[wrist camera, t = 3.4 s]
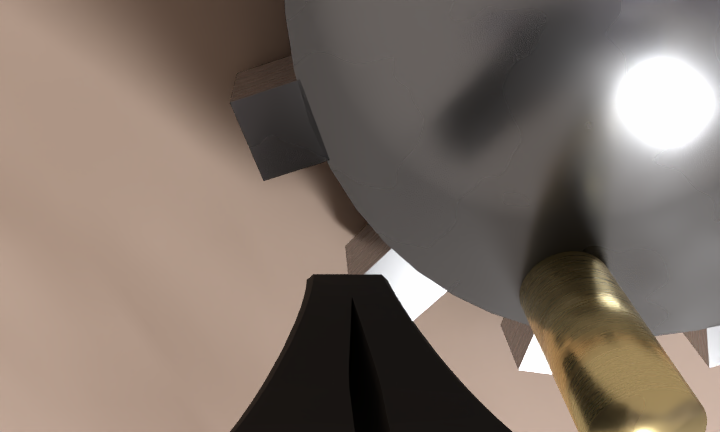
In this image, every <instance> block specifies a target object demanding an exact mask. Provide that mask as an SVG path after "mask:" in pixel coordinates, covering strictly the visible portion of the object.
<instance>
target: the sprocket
mask: <svg viewBox="0 0 720 432" xmlns="http://www.w3.org/2000/svg"><path fill="white" fill-rule="evenodd" d="M285 16H286V22H287V28H288V35H289V41H290V47H291V54H292V55H291V56H288V57H285V58H282V59H279V60H276V61H273V62H270V63H267V64H264V65H261V66H258V67H255V68H252V69H249V70H246V71H243V72H240V73H237V76H236V80H235V84H234V88H233V92H232V96H231V100H230V104H231V106H232V109H233V111H234V113H235V116H236V118H237V120H238V123H239V125H240V127H241V130H242V132H243V134H244V137H245V139H246V141H247V144H248V146H249V148H250V150H251V153H252V155H253V157H254V160H255V162H256V164H257V167H258V169H259V171H260V174H261V176H262V178H263V181H265V180H268V179H271V178H275V177H278V176H281V175H284V174H287V173H290V172H294V171H297V170H300V169H303V168H306V167H309V166H313V165H316V164H319V163H322V162H325V161H327V162H328V164H329V166H330V169H331V170H332V172H333V173H334V175H335V177H336V178H337V180H338V181H339V183H340V184H341V186H342V188H343V189H344V191H345V192H346V194H347V195H348V197H349V199H350V200H351V202H352V203H353V205H354V206H355V208H356V209H357V211H358V212H359V213H360V214H361V215H362V216H363V218H364V219H365V220H366V221H367V222H368V224H367V225H366V226H365V227H364V228H363V229H362V230H361V231H360V232H359V233H358V234H357V235H356V236H355V237H354V238H353V239H352V240H351V241H350V242H349V243H348V244H347V245H346V246H345V248H346V258H347V267H348V274H382V275H383V276H384V277H385V278H386V279H387V280H388V282H389V284H390V286H391V287H392V289H393V291H394V293H395V294H396V296H397V298H398V299H399V301H400V302H401V304H402V306H403V307H404V309H405V310H406V312H407V313H408V315H409V316H410V318H411V319H412V321H413V320H414V319H416V318H417V317H418V316H419V315H420V314H421V313H422V312H424V311H425V310H426V309H427V308H428V307H429V306H430V305H432V304H433V303H434V302H435V301H436V300H437V299H438V298H440V297H441V296H442V295H443V294H444V293H445V292H446V291H448V292H450V293H451V294H453V295H454V296H457V297H459V298H461V299H463V300H465V301H467V302H469V303H471V304H473V305H475V306H477V307H479V308H482V309H484V310H486V311H488V312H490V313H493V314H496V315H499V316H502V317H504V318H503V320H502V323H501V327H502V330H503V332H504V335H505V337H506V340H507V342H508V345H509V347H510V350H511V352H512V355H513V357H514V360H515V362H516V365H517V367H518V370H522V371H530V372H538V373H546V374H552V375H553V377H554V379H555V381H556V384H557V386H558V388H559V390H560V392H561V394H562V397H563V399H564V401H565V403H566V405H567V408H568V410H569V412H570V414H571V416H572V419H573V421H574V423H575V425H576V427H577V430H578V432H705V430H706V425H707V417H706V412H705V410H704V408H703V406H702V405H701V403H700V402H699V400H698V399H697V397H696V396H695V394H694V393H693V392H692V390H691V389H690V387H689V386H688V384H687V383H686V381H685V380H684V379H683V377H682V376H681V374H680V373H679V371H678V370H677V368H676V367H675V365H674V364H673V363H672V361H671V360H670V358H669V357H668V355H667V354H666V352H665V351H664V350H663V348H662V347H661V345H660V344H659V342H658V341H657V339H656V338H655V336H659V335H666V334H674V333H682V332H683V333H684V335H685V336H686V337H687V339H688V340H689V341H690V343H691V344H692V345H693V347H694V348H695V349H696V351H697V352H698V353H699V355H700V356H701V357H702V359H703V360H704V361H705V363H706V364H707V365H708V367H709V368H711V367H715V366H718V365H720V0H285Z"/></svg>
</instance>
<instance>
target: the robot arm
mask: <svg viewBox="0 0 720 432" xmlns="http://www.w3.org/2000/svg"><path fill="white" fill-rule="evenodd" d="M230 432H512V431H511V430H510V429H509V428H508V427H506V426H505V425H504V424H503V423H502V422H501V421H500V420H499V419H497V418H496V417H495V416H494V415H493V414H492V413H491V412H490V411H489V410H488V409H487V408H486V407H485V406H484V405H483V404H482V403H481V402H480V401H479V400H478V399H477V398H476V397H475V396H474V395H473V394H472V393H471V392H470V391H469V390H468V389H467V388H466V386H465V385H464V384H463V383H462V382H461V381H460V380H459V379H458V378H457V376H456V375H455V374H454V373H453V372H452V371H451V370H450V368H449V367H448V366H447V365H446V364H445V363H444V361H443V360H442V359H441V358H440V356H439V355H438V354H437V353H436V351H435V350H434V349H433V348H432V346H431V345H430V344H429V342H428V341H427V340H426V338H425V337H424V336H423V334H422V333H421V332H420V330H419V329H418V328H417V326H416V325H415V323H414V322H413V321H412V319H411V318H410V316H409V315H408V313H407V312H406V310H405V309H404V307H403V306H402V304H401V302H400V301H399V299H398V298H397V296H396V294H395V293H394V291H393V289H392V287H391V286H390V284H389V282H388V280H387V279H386V278H385V277H384V276H383V275H382V274H313V275H312V276H311V277H310V278H309V279H307V284H306V291H305V295H304V299H303V302H302V305H301V308H300V311H299V313H298V316H297V319H296V321H295V324H294V326H293V328H292V330H291V332H290V335H289V337H288V339H287V341H286V343H285V346H284V348H283V350H282V352H281V353H280V355H279V357H278V359H277V361H276V362H275V364H274V366H273V368H272V370H271V371H270V373H269V375H268V377H267V379H266V380H265V382H264V384H263V385H262V387H261V388H260V390H259V392H258V393H257V395H256V396H255V398H254V399H253V401H252V402H251V404H250V405H249V407H248V408H247V409H246V411H245V412H244V414H243V415H242V417H241V418H240V419H239V421H238V422H237V423H236V425H235V426H234V427H233V429H232V430H231V431H230Z"/></svg>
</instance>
